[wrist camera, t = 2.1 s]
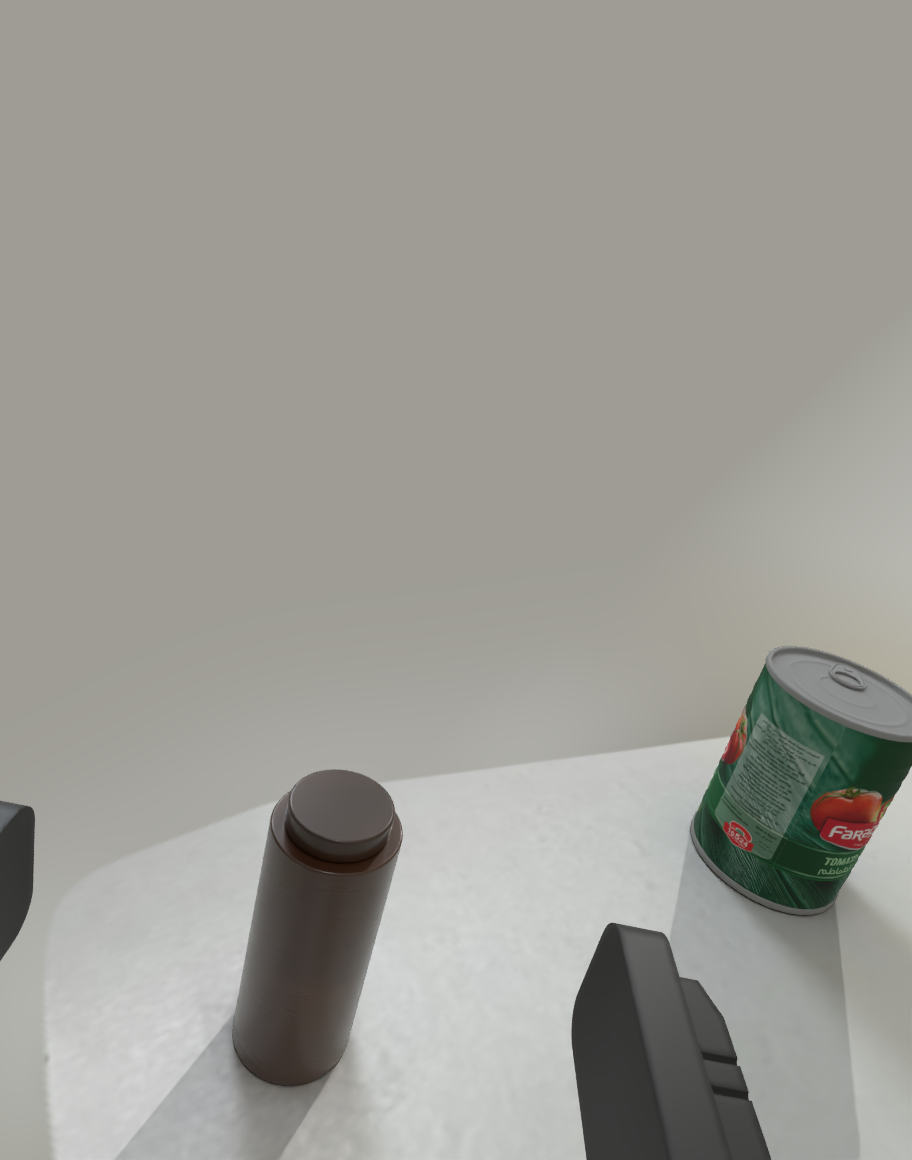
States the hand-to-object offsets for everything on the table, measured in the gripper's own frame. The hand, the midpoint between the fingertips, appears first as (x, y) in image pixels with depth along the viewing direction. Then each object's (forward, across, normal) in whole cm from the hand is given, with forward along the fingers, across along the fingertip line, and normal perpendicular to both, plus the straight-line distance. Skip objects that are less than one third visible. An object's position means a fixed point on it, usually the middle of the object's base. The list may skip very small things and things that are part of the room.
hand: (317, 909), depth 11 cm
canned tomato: (+25, -22, +17) cm, 38 cm away
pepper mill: (+10, 0, +17) cm, 20 cm away
